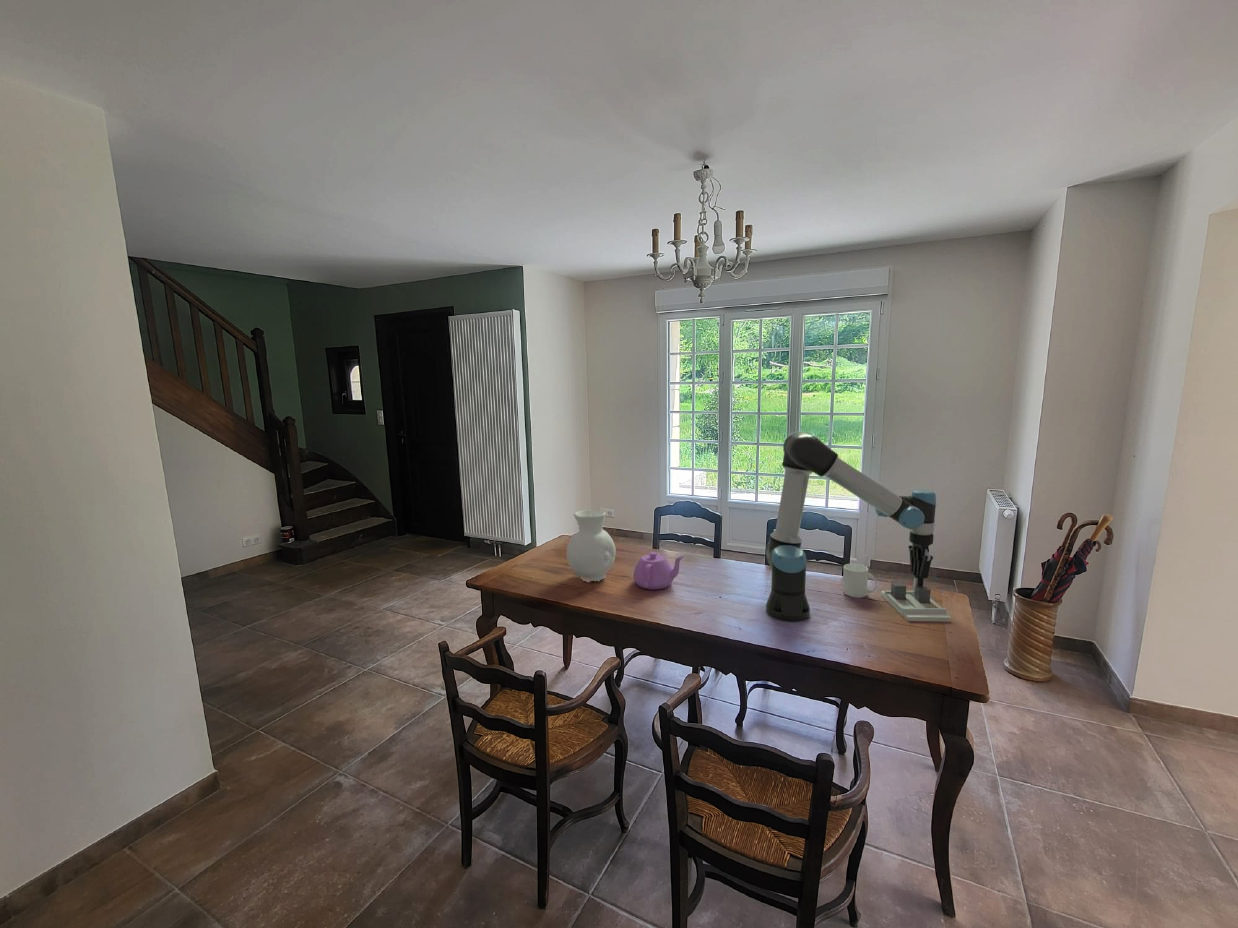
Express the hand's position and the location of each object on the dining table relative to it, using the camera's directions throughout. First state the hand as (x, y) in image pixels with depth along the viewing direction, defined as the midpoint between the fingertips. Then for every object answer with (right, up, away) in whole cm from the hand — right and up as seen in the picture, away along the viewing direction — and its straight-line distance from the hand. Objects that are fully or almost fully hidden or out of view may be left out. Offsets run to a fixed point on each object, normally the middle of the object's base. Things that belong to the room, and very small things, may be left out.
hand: (917, 593), depth 187 cm
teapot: (-94, -3, +25) cm, 98 cm away
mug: (-18, -3, +9) cm, 20 cm away
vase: (-123, -2, +33) cm, 127 cm away
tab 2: (0, -2, -3) cm, 4 cm away
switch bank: (-4, -4, -4) cm, 7 cm away
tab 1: (-7, -2, +1) cm, 7 cm away
